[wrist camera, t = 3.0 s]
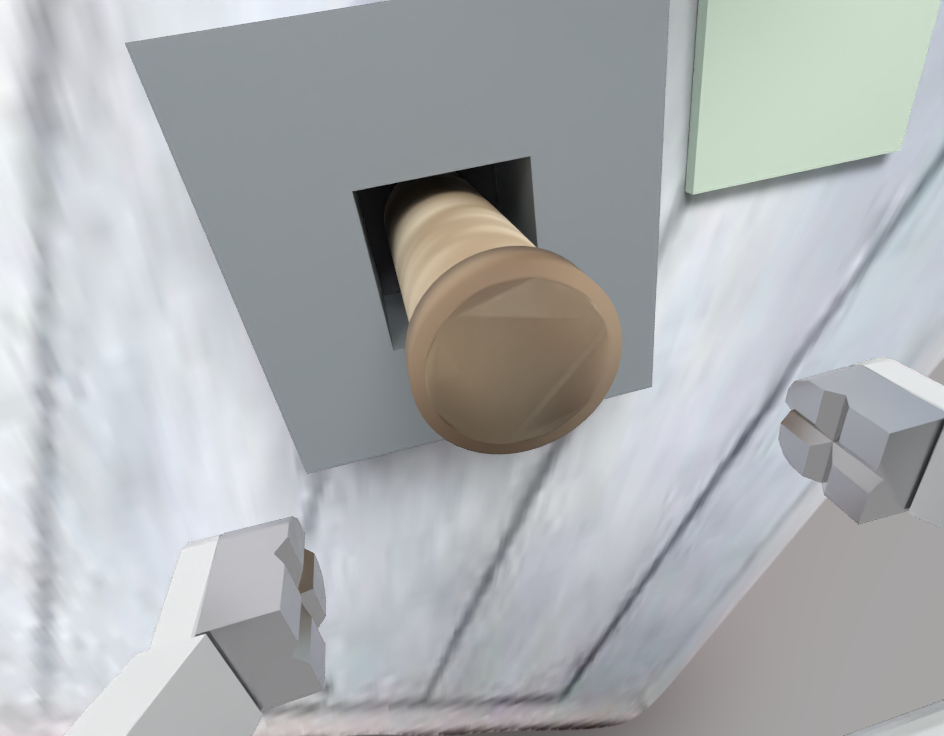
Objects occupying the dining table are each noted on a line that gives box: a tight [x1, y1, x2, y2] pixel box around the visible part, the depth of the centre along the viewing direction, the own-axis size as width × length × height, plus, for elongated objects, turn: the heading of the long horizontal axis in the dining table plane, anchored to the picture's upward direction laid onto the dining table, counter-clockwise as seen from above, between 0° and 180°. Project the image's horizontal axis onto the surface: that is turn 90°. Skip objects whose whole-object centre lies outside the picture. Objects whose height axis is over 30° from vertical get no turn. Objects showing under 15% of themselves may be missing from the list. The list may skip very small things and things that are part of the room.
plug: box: [384, 172, 622, 454], centre depth 16 cm, size 5×5×12 cm
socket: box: [125, 0, 669, 474], centre depth 19 cm, size 14×14×5 cm
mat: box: [685, 0, 941, 195], centre depth 20 cm, size 10×10×1 cm
